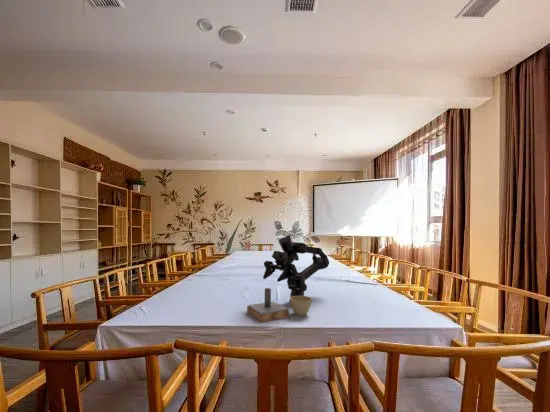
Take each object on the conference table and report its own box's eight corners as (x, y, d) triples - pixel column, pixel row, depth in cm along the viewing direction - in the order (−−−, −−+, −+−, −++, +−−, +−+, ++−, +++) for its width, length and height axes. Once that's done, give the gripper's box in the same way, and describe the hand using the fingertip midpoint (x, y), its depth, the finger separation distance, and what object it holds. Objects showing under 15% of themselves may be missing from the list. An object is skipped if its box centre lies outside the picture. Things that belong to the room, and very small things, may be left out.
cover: (273, 302, 139) (273, 284, 140) (287, 309, 128) (287, 290, 128) (248, 306, 133) (248, 287, 134) (260, 314, 122) (261, 293, 122)
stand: (273, 308, 140) (273, 302, 140) (288, 317, 128) (288, 310, 128) (247, 312, 133) (247, 306, 133) (260, 322, 121) (260, 314, 121)
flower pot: (310, 318, 126) (310, 301, 126) (288, 316, 128) (288, 300, 128) (312, 311, 136) (312, 296, 136) (291, 310, 138) (291, 294, 138)
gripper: (268, 245, 151) (250, 264, 141) (297, 247, 138) (279, 268, 128) (276, 262, 155) (259, 281, 145) (304, 265, 142) (287, 287, 132)
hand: (270, 279), depth 137 cm, fingers open, 9 cm apart
